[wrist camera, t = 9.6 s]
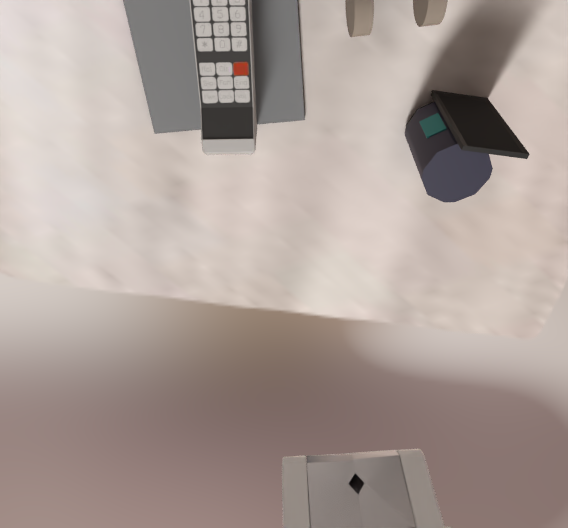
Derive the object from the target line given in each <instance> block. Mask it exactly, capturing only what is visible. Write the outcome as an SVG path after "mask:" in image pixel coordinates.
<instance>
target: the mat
mask: <svg viewBox="0 0 568 528" xmlns="http://www.w3.org/2000/svg"><path fill="white" fill-rule="evenodd" d="M123 2H124V6H125V10H126V14H127V18H128V23H129V27H130V31H131V35H132V40H133V44H134V48H135V52H136V57H137V61H138V65H139V69H140V74H141V78H142V82H143V86H144V91H145V95H146V99H147V103H148V107H149V112H150V116H151V120H152V124H153V129H154V133H155V134H157V133H167V132H178V131H189V130H200V129H201V115H200V101H199V91H198V81H197V71H196V62H195V52H194V42H193V32H192V23H191V13H190V3H189V0H123ZM252 17H253V42H254V67H255V92H256V117H257V124H266V123H277V122H288V121H299V120H305V116H304V100H303V84H302V68H301V52H300V35H299V19H298V3H297V0H252Z"/></svg>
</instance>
